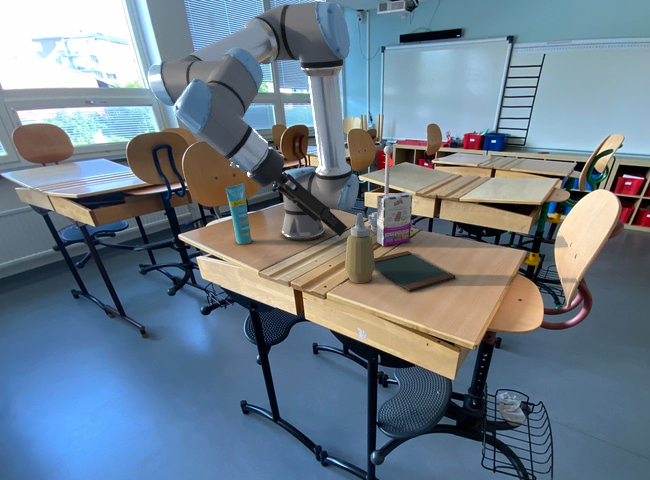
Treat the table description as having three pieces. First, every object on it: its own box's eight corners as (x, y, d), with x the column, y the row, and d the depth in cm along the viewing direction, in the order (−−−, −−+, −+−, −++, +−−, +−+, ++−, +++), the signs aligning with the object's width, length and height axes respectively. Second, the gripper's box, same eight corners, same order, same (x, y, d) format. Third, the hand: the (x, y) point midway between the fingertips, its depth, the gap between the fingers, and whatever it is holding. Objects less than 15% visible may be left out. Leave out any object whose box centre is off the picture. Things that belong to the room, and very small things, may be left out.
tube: (242, 246, 114) (232, 187, 105) (231, 244, 116) (220, 186, 106) (257, 239, 120) (248, 183, 111) (246, 237, 122) (236, 182, 112)
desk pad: (365, 263, 103) (365, 260, 102) (407, 253, 110) (407, 250, 109) (409, 292, 86) (409, 289, 86) (455, 278, 93) (455, 275, 93)
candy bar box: (402, 238, 123) (405, 191, 115) (410, 242, 119) (413, 194, 111) (375, 242, 119) (376, 194, 111) (383, 247, 115) (384, 198, 107)
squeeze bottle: (358, 270, 98) (358, 208, 89) (380, 278, 93) (382, 213, 84) (339, 279, 92) (336, 214, 83) (361, 288, 88) (361, 220, 79)
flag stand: (363, 226, 135) (364, 144, 121) (393, 223, 140) (397, 143, 125) (375, 236, 125) (377, 147, 110) (407, 232, 129) (413, 146, 114)
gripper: (232, 167, 76) (301, 223, 90) (264, 185, 57) (344, 252, 72) (252, 140, 76) (318, 200, 90) (290, 150, 57) (366, 224, 71)
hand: (330, 223), depth 81 cm, fingers open, 13 cm apart
